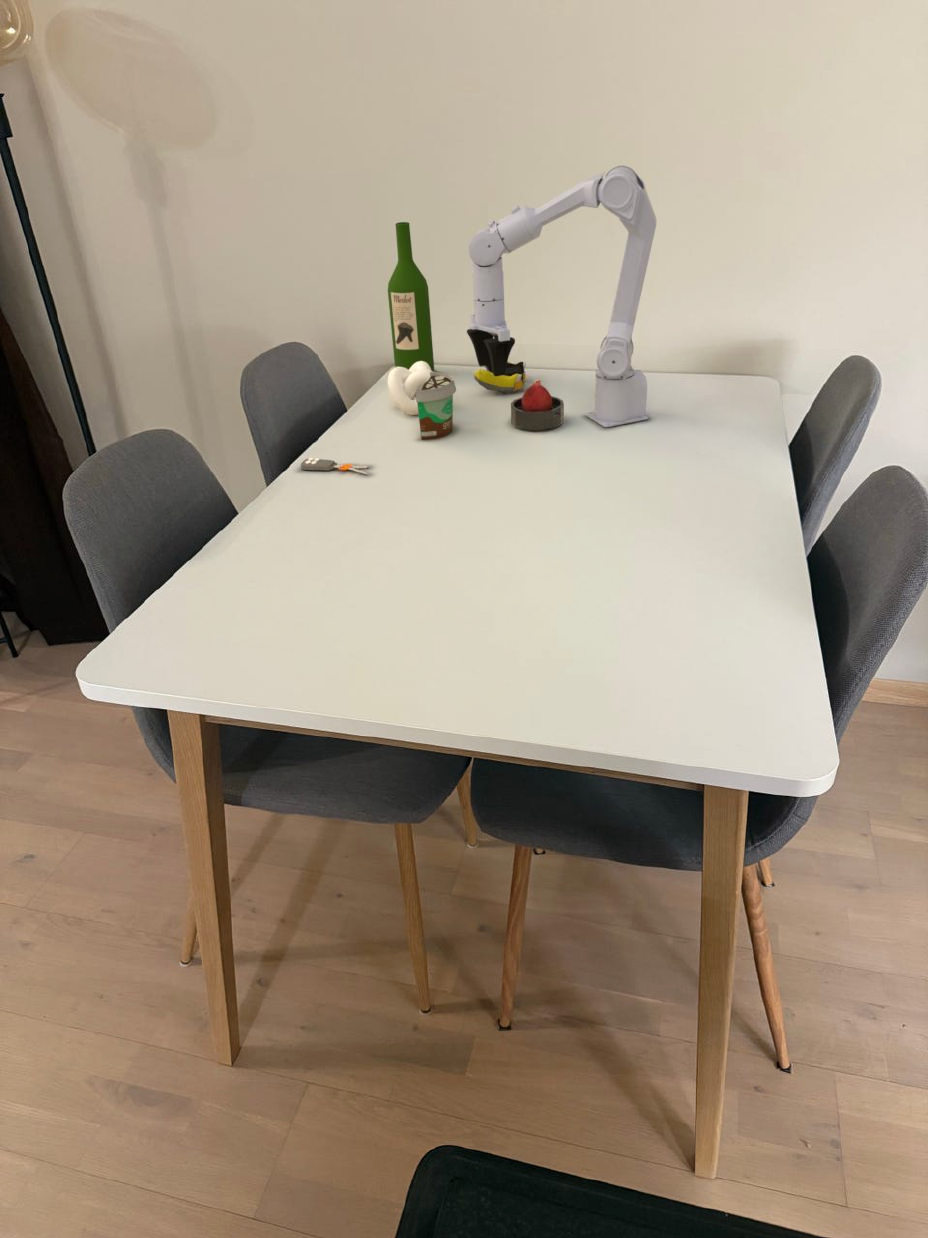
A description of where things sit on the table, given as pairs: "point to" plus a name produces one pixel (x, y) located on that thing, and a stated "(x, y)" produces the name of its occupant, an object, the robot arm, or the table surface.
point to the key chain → (327, 465)
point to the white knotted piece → (408, 385)
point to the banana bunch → (502, 378)
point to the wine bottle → (409, 307)
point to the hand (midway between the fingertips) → (491, 370)
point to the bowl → (537, 416)
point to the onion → (536, 398)
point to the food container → (436, 406)
